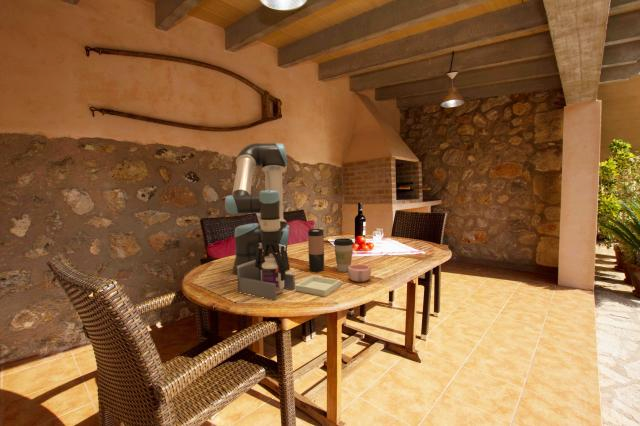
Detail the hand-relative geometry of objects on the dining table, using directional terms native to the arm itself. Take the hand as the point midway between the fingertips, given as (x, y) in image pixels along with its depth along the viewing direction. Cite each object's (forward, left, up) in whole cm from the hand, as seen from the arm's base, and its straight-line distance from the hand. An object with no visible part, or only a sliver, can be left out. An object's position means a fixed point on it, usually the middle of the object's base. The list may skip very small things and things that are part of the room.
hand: (272, 286), depth 120 cm
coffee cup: (+12, +40, -2) cm, 42 cm away
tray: (+14, +12, -2) cm, 19 cm away
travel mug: (0, +34, -3) cm, 34 cm away
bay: (-3, 0, -2) cm, 4 cm away
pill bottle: (0, 0, -2) cm, 2 cm away
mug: (+24, +30, -3) cm, 39 cm away
